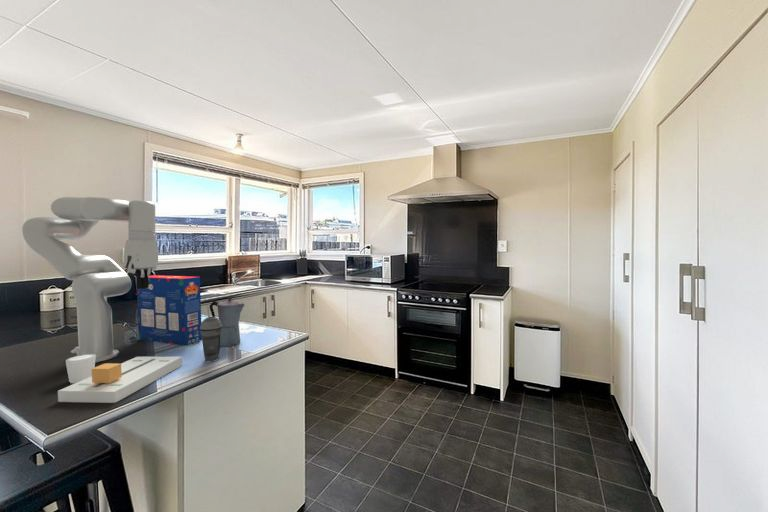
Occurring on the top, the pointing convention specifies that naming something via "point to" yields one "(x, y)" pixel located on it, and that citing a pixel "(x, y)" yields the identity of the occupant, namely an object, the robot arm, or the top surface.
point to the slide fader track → (121, 381)
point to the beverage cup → (211, 337)
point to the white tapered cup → (80, 367)
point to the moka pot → (229, 320)
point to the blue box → (170, 310)
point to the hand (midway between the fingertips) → (142, 288)
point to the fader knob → (106, 373)
